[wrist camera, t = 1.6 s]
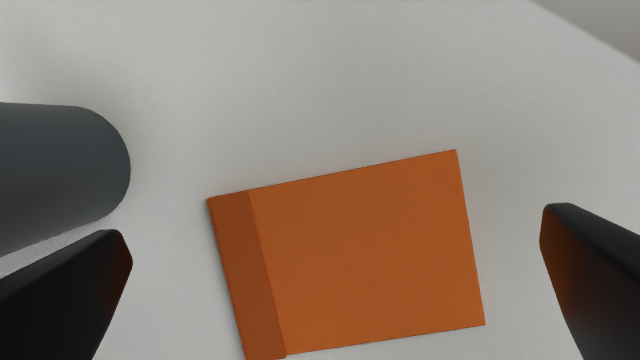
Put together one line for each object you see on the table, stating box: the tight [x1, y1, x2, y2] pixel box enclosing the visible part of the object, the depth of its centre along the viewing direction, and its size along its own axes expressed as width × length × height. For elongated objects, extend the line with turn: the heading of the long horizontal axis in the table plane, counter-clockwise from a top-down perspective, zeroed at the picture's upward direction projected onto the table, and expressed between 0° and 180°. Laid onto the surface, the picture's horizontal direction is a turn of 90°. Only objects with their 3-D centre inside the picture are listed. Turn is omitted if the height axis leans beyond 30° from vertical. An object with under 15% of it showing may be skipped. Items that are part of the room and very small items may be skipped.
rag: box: [206, 149, 485, 360], centre depth 23 cm, size 10×14×1 cm
